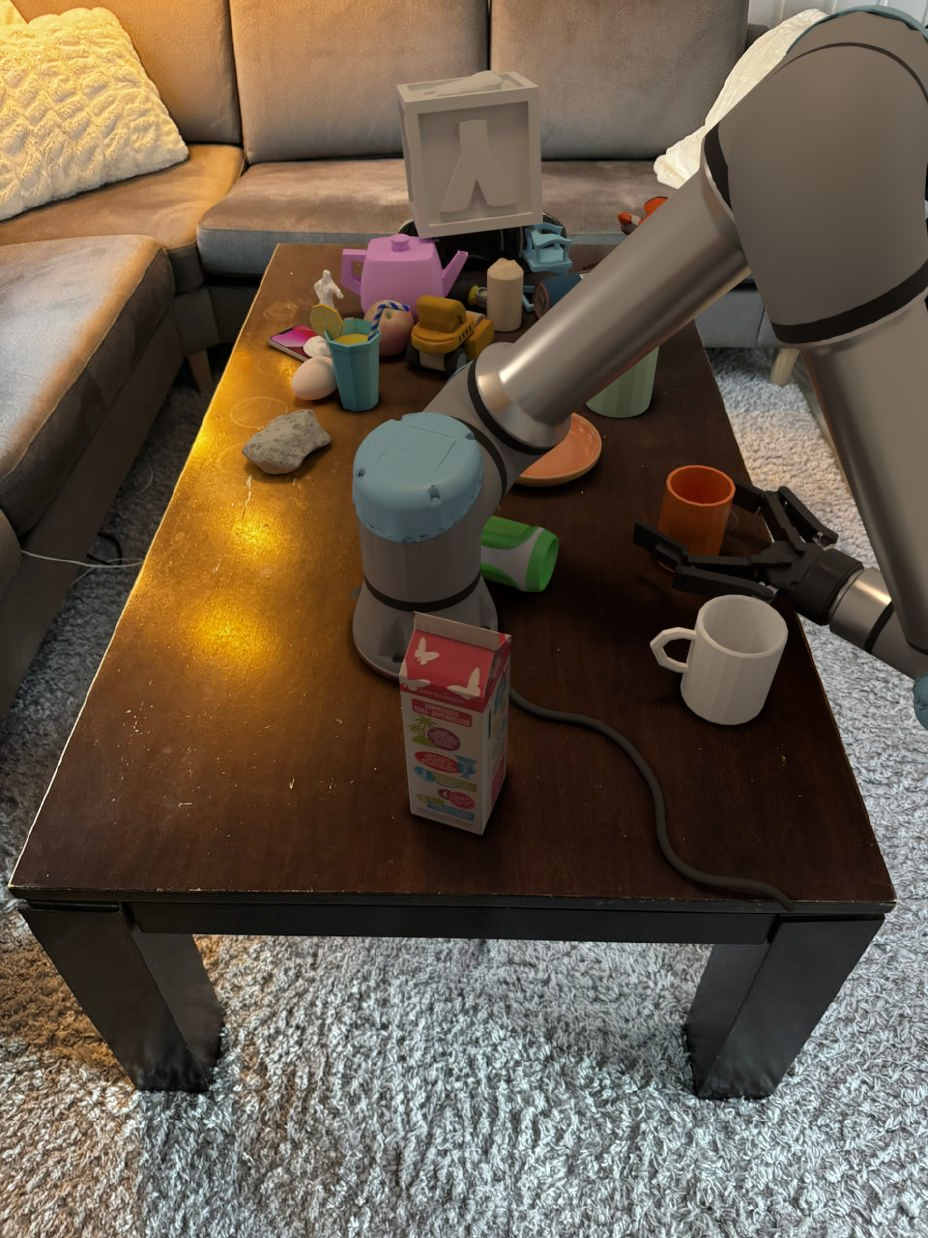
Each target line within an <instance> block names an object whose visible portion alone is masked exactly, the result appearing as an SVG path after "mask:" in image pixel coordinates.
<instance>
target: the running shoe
mask: <svg viewBox="0 0 928 1238" xmlns="http://www.w3.org/2000/svg"><path fill="white" fill-rule="evenodd" d="M543 222H546V223H549V224H552V225H555V226H559V227H563V228H562V231H561V233H560V236H561V237H563V238H566V239H568V235H567V230H566V229H567V228H566V227H565V226H564V225H563V224H562V223H561V221H560V220H559V219H557V218H556V217H555V216H553V215H552V214H550V213H547V212H546V211H543ZM529 226H531V225H528V226H520V227H511V228H503V229H495V230H487V231H479V232H471V233H463V234H455V235H447V236H439V237H431V238H430V239H432V240H433V241H434V244H435V246H436V249H437V252H438V255H439V258H440V262H441V266H442V268H443V267H447V266H448V264H449V263H450V262H451V260H452V259H453V258H454V256H455V255H456V254H457V253H458V251H462V252H468V257H467V259H466V260H468V259H469V260H480V261H481V260H482V261H488V262H490V263H491V264H492V265H493V264H494V263H496V262H497V261H498V260H499V259H500V258H504V259H506V260H508V261H511V260H515V261H516V263H517V264H518V265H519V266H520V267H521V268H522V269H523V274H526V273H534V272H533V271H532V270H531V268H530V266H529V264H528V263H527V261H526V260H525V259H524V258H523V256H522V250H526V248H527V239H526V234H525V229H526V228H527V227H529ZM538 233H539V234H556V233H555V232H553V231H551V230H547V229H542V230H539V231H538ZM397 234H405V235H408V236H411V237H419V235H418V232H417V229H416V226H415V223H414V220H413V217H411V218H408V219H406V220H405V221H404V222H403V224H402V225H401V226H400V227H399V229H398V231H397ZM531 242H532V240H531ZM559 246H560V247H561V248H562V249H563V251H564V249H565V247H566V246H565V245H562V244H559ZM550 247H554V243H553V244H549V245H547V246H545V247H543V248H541V249H545V248H550ZM532 249H535V248H534V244H533V242H532Z"/></svg>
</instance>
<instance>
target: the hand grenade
mask: <svg viewBox="0 0 928 1238" xmlns="http://www.w3.org/2000/svg"><path fill="white" fill-rule="evenodd" d="M445 298H447V299H452V300H456V301H459V302H461V303H462V304H463V306H464V308H465V309H472V308H474V307H475V306H477V307H480V308H484V309H486V310H487V287H483V286H482V287H480V286H479V284H478V283H477V282H476V281H474V280H472V279H470V278H466V277H461V276H460V277H459V276H457V278H456V280H455V282H454V284H453V285H452V287H451V289H450V291H449V293H448V295H447V296H445Z"/></svg>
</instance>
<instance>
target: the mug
mask: <svg viewBox="0 0 928 1238" xmlns="http://www.w3.org/2000/svg"><path fill="white" fill-rule="evenodd" d="M696 618H697V619H696V621H695V626H694V629H689V628H684V627H679V626H677V627H672V628H668V629H664V630H662V631H661V632H659V634H658V635H656V636H655V637H654V638H653V639H652V640H651V641H650V642H649V646H650V648H651V651H652V653H653V655H654V658H655V659H656V661H657V663H658V665H659V666H661V667H664V668H665V669H668V670H670V671H673V672H675V673H682V678H681V682H680V685H679V687H680V693H681V697H682V698H683V700H684V702H685V704H686V706H687V707H688V708H689V709H690V710H691V711H692V712H694V714H695V715H697V716H699V717H700V718H703V719H704V720H706V721H708V722H711V723H714V724H718V725H728V726H729V725H730V726H731V725H732V726H735V725H739V724H740V725H741V724H744V723H747V722H749V721H750V720H752V719H754V718H755V717H757V716H758V715H759V714H760V712H761V711H762V709H763V708H764V705H765V702H766V699H767V698H768V694H769V691H770V688H771V686H772V682H773V681H774V678H775V675H776V672H777V669H778V666H779V664H780V661H781V658H782V655H783V652H784V650H785V646H786V644H787V640H788V634H789V629H788V628H787V623H786V620H785V619H784V618H783V616H782V615H781V614H780V613H779V612H778V611H777V610H776V609H775V608H774V607H772V606H771V605H770V606H769V605H768V604H766V603H764V602H762V601H760V600H758V599H755V598H752V597H747V596H743V595H725V596H721V597H716V598H711V599H710V600H708V601H706V602H705V603H704V605H702V606H701V607H700V609H699V610H698V613H697V617H696ZM679 639H681V640H682V639H686V640H689V641H690V645H689V649H688V654H687V658H686V660H685V662H681V661H677V660H675V659H673V658H671V657H669V656H668V655H667V654H666V651H665V650H664V647H665V646H666V644H668V643H669V642H670V641H675V640H679Z"/></svg>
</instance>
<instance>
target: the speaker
mask: <svg viewBox="0 0 928 1238" xmlns="http://www.w3.org/2000/svg"><path fill="white" fill-rule="evenodd" d="M559 544H560V543H559V538H558V536H557V535H556V534H554V533H553V532H551V531H549V530H547V529H545V528H543V527H541V526H538V525H536V526H535V525H534V526H530V525H529V524H526V523H523V522H519V521H516V520H512V519H507V518H504V517H499V516H496V515H494V514H492V515H491V517H490V518H489V520H488V521H487V523H486V524H485V526H484V529H483V532H482V536H481V575H482V577H483V579H484V580H487V581H491V582H493V583H498V584H501V585H505V586H508V587H514V588H516V589H517V590H519V591H521V592H527V593H528V592H530V593H541V592H542V591H545V589H546V587H547V586H548V584H549V582H550V580H551V578H552V575H553V573H554V570H555V567H556V564H557V559H558V555H559V554H558V553H559V548H560V547H559Z"/></svg>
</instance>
